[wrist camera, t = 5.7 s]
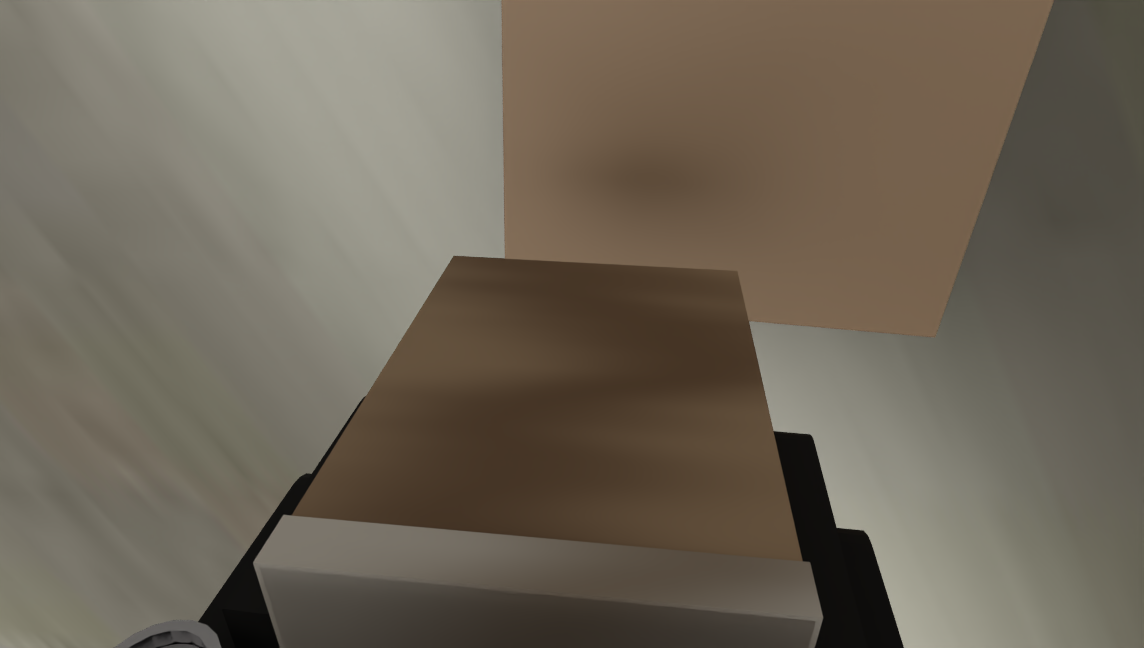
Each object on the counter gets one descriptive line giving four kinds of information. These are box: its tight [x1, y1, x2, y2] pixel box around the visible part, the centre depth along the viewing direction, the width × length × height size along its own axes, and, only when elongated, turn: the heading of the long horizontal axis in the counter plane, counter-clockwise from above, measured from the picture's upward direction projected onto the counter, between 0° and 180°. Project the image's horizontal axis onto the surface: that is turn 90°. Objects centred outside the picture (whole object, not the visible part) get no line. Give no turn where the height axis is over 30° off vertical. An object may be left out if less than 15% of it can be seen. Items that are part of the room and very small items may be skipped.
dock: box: [502, 0, 1054, 337], centre depth 22 cm, size 15×14×3 cm
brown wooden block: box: [253, 256, 823, 648], centre depth 10 cm, size 5×5×7 cm
